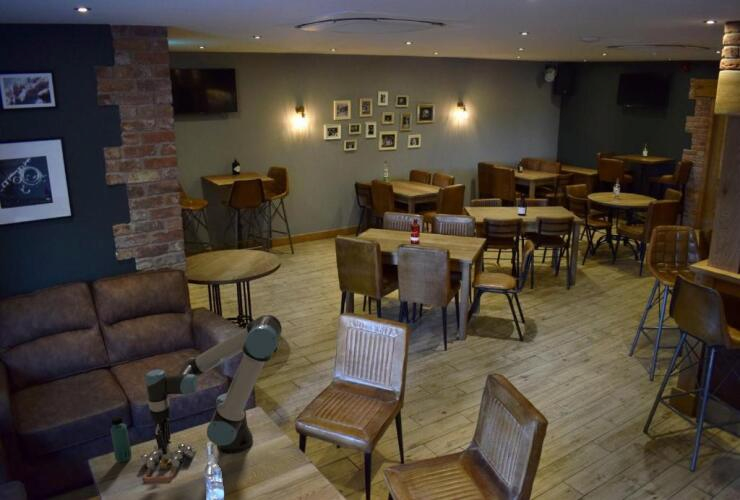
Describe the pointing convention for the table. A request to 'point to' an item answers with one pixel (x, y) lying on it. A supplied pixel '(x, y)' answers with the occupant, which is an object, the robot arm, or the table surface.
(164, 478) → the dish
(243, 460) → the table surface
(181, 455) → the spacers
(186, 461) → the mat
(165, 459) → the nut
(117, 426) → the beverage bottle
